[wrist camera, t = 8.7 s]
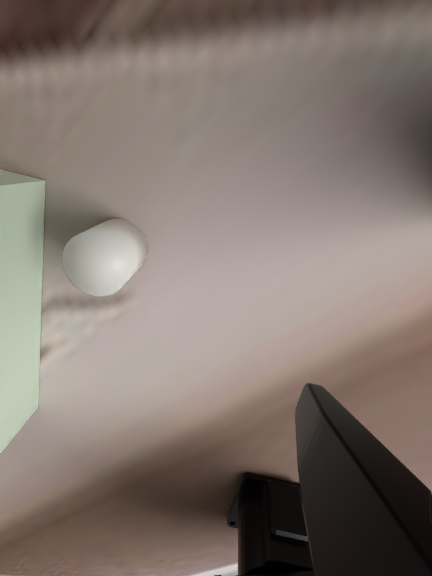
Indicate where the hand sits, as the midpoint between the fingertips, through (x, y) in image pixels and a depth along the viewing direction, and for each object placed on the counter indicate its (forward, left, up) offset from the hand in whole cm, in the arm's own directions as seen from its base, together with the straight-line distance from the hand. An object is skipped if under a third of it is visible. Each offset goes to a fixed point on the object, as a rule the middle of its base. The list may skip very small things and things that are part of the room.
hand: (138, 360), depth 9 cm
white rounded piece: (-1, +5, -13) cm, 14 cm away
